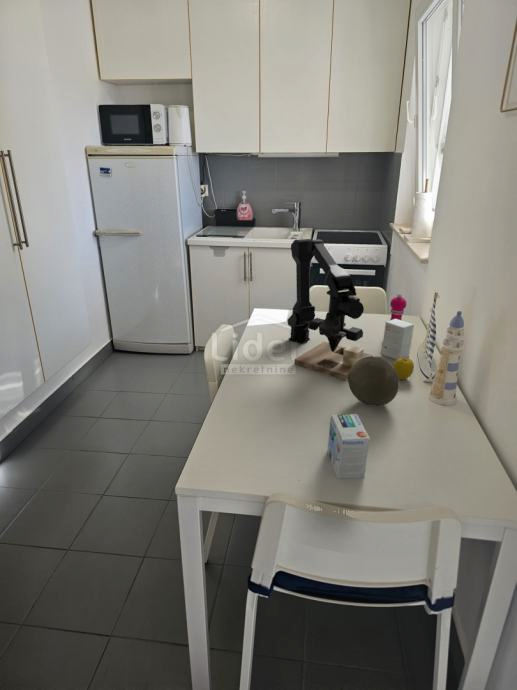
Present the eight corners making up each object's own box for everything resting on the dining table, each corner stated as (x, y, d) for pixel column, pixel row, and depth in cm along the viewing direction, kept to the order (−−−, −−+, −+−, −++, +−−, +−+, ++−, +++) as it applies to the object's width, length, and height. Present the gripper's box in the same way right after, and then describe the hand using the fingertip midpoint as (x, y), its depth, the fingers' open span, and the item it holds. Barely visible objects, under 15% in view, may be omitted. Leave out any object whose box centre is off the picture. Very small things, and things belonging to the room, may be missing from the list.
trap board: (294, 364, 159) (294, 359, 158) (323, 346, 175) (324, 341, 174) (345, 380, 148) (346, 375, 147) (371, 360, 164) (372, 355, 163)
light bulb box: (326, 451, 113) (330, 413, 108) (352, 450, 113) (357, 413, 109) (336, 479, 103) (341, 439, 99) (365, 478, 103) (371, 438, 99)
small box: (409, 357, 167) (414, 324, 162) (399, 361, 163) (404, 327, 158) (390, 350, 173) (395, 318, 168) (380, 354, 169) (385, 321, 164)
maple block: (342, 362, 156) (343, 349, 154) (349, 358, 160) (350, 345, 158) (355, 366, 154) (357, 353, 152) (362, 362, 157) (363, 348, 155)
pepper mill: (404, 340, 182) (411, 292, 174) (399, 346, 176) (406, 297, 169) (386, 336, 186) (393, 289, 178) (381, 342, 180) (387, 294, 172)
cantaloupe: (363, 388, 143) (368, 345, 137) (403, 405, 134) (411, 359, 128) (336, 404, 134) (341, 358, 128) (378, 423, 125) (385, 374, 119)
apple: (389, 380, 149) (393, 358, 146) (394, 372, 155) (397, 351, 151) (409, 384, 147) (413, 362, 144) (413, 377, 152) (417, 355, 149)
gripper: (301, 309, 153) (298, 351, 159) (351, 322, 143) (346, 366, 149) (317, 302, 162) (314, 342, 168) (366, 313, 151) (360, 355, 158)
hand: (333, 351), depth 160 cm, fingers closed
